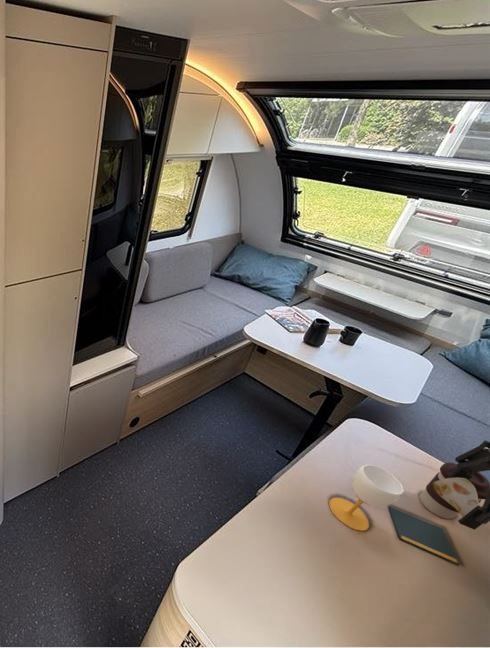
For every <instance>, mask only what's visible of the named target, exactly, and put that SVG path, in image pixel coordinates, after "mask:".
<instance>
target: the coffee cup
mask: <svg viewBox="0 0 490 648" xmlns="http://www.w3.org/2000/svg"><path fill="white" fill-rule="evenodd" d="M457 464H458V463H454V462H444V463H443V464H441V466H440V467H439V472H437V473H436V474H435V476H433V478H431V480H430V481H429V482H428V483H427V485H426V486H425V488H424V490H423V491H422V492H421V493H420V494H419V501H420V503H421V504H422V505H423V506H424V508H426V509H427V510H428V511H430V512H431V513H432V514H434V515H436V516H438V517H439V518H443V519H446V520H447V519H448V520H449V519H452V518H454V517H456V516H457V515H459V514H460V513H459V512H458V511H457V510H456V509H455V508H454V507H453V506H452V505H451V504H449V503H448V502H447V501H445V500H444V499H443V498H442V497H441V496H440V495H439V494H438V493H437V492H436V491H435V489H434V487H433V483H434V482H435V481H438V480H442V479H446V478H447V477H449V476H450V474H451V473H452V472H453V471H454V470H455V469H456V468H457ZM468 474H471V475H472V478H470V479H469V481H470V482H471V483H472V484H473V486H474V487H475V489H476V491H477V495H478V500H479V503H481V502H482V500H484V501H485V499H486V497H487V494H488V492H489V490H490V481H489V480H488V478H487V477H485V475H484V474H482V473H481V472H475V473H474V474H475V475H474V474H472V473H469V472H468Z"/></svg>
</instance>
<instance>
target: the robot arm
mask: <svg viewBox="0 0 490 648" xmlns="http://www.w3.org/2000/svg"><path fill="white" fill-rule="evenodd" d="M454 461H455V462H457V463H456V464H457V468H456V469H455V470H454V471H453V472H452V473H451V474H450V476H449V477H447V478H465V479H467V480H469V479H470V478H472V475H471V474H468V472H469V473H472V474H474V473H475V472H479V473H481V472H487V471H489V472H490V441H489V440H483V442H481V444H479V445H478V446H476V447H474V448H472V449H470V450H468V451H466V452H463V453H462V454H460V455H458V456H456V457H455V458H454ZM474 475H475V474H474ZM489 522H490V490H489V492H488V494H487V497H486V499H485V500H484V502H483V504H482V506H481V505H480V506H477V507H475V508H474V509H473V510H471V511H470V512H469V513H468V514H466V515H465V516H464V517H462V516H461V518H460V519H458V523H459V524H460V525H462V526H465V527H467V528H469V529H472V530H474V531H475V530H476V529H478V528H479V527H481V526H482V525H486V524H488V523H489Z"/></svg>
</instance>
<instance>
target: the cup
mask: <svg viewBox="0 0 490 648" xmlns="http://www.w3.org/2000/svg"><path fill="white" fill-rule="evenodd" d="M351 485H352V486H351V487H352V491H353V493H354V494H355V496H356V497H357V499H359V500H357V501H356V503H352V502H350V501H348V500H346V499H344V498H340V497H332V498H330V500H329V502H328V503H329V508H330V510H331V513H332V514H333V515H334V516H335V518H336V519H337V520H338V521H340V522H341V523H342V524H343V525H345V526H346V527H348V528H350V529H352V530H355V531H358V532H364V531H367V530H368V529H369V527H370V523H369V520H368V518H367V516H366V515H365V514H364V512H363V511H362V510H361V508H359V507H360V506H361V505H362V504H365V505H368V506H371V507H376V508H379V507H386V506H387V507H388V506H390V505H392V504H395V503H396V502H397V501H398V500H399V499H400V498H401V497H402V495H403V493H404V492H405V490H404V487H403V485H402V483H401V482H400V480H399V479H398V478H397V477H396V476H394V475H393V474H392V473H391V472H389V471H387V470H386V469H384V468H383V467H379V466H377V465H374V464H364V465H363V466H361V467H360V468H359V469H358V470H357V471H356V472H355V474H354V475H353V477H352V484H351Z"/></svg>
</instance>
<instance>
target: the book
mask: <svg viewBox="0 0 490 648" xmlns="http://www.w3.org/2000/svg"><path fill="white" fill-rule="evenodd" d="M387 509H388V512H389V515H390V517H391V521H392V524H393V526H394V528H395V531H396V534H397V537H398V540H399V541H402V542H405V543H407V544H408V545H411V546H413V547H416V548H418V549H420V550H423V551H425V552H427V553H429V554H432V555H434V556H435V557H438V558H439V559H440V558H441V559H443V560H445V561H447V562H450V563H452V564H455V565H456V566H460V565H461V564H460V561H459V560H458V557H457V556H456V552H455V551H454V548H453V546H452V545H451V543H450V540H449V538H448V536H447V533H446V532H445V530H444V528H443V527H440V526H438V525H435V524H432V523H431V522H428V521H426V520H423V519H421V518H418V517H416V516H414V515H412V514H409V513H407V512H404V511H402V510H400V509H397V508H394V507H392V506H390V505H387Z"/></svg>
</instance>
